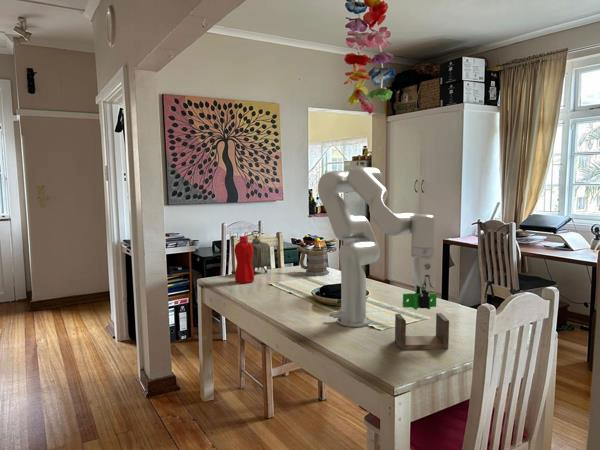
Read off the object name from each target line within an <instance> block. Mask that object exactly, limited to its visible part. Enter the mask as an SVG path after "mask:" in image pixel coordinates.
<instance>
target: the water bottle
mask: <svg viewBox="0 0 600 450" xmlns="http://www.w3.org/2000/svg"><path fill="white" fill-rule="evenodd" d="M251 243H252V242H249V237H248V236H247V235H240V236H239V242H237V243H236V244H235V245H234V250H233V251H234V255H235V260H236V267H235V272H234V280H235V282H236V283H239V284H247V283H248V284H250V283H253V282H254V281H255V273H254V270H253V267H252V256H253V251H254V250H253V246H252V244H251Z"/></svg>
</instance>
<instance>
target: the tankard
mask: <svg viewBox="0 0 600 450" xmlns="http://www.w3.org/2000/svg"><path fill="white" fill-rule="evenodd" d="M296 251H297V252H299V251H300V252H301V254H300V258H299V265H300V267H301V269H303V270H305V274H306V275H308V276H313V277H320V276H322V277H323V276H326V275H329V274H330V271H329V270H328V269H327V268H328V266H329V265H328V264H329V263H328V262H327V259H328V257H329V256H328V253H327V250H326V249H325V248H310V249H306V248H305V249H304V248H303V247H301V246H299V247H296ZM305 257H306V259H307V262H306V265H305V264H304V262H305Z"/></svg>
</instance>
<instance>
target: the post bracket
mask: <svg viewBox="0 0 600 450" xmlns="http://www.w3.org/2000/svg"><path fill="white" fill-rule="evenodd" d="M394 316H395V318H394V320H395V321H394V325H395V326H394V328H395V329H394V342H395V343H396V344H397V346H398V347H399V349H400V350H433V349H434V350H437V349H439V350H442V349H444V350H447V349H449V340H450V320H449V319H448V318H447V317H446V316H445V315H444V314H443V313H441V312H436V315H435V318H436V320H435V335H407V331H406V330H407V320H406V319H405V318H404V317H403V316H402V315H401V313H395V315H394Z"/></svg>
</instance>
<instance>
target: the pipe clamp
mask: <svg viewBox="0 0 600 450" xmlns="http://www.w3.org/2000/svg"><path fill="white" fill-rule="evenodd" d="M419 296H420V293H415V292H414V293H402V307H403V308H406V309H407V308H412V309H413V310H415V311H416V310H418V309H420V308H419ZM436 307H437V293H436V292H435V293H434V292H430V296H429V308H425V309H426V310H431V308H436Z"/></svg>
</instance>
